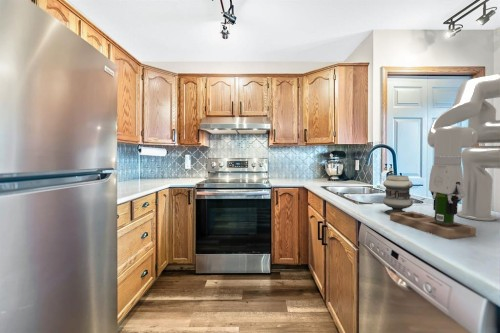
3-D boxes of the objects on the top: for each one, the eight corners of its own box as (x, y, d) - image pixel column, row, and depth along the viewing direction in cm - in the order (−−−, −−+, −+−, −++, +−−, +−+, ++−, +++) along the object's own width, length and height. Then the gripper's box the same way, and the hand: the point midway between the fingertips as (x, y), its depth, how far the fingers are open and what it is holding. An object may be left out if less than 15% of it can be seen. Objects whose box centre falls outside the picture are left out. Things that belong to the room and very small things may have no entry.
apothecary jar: (378, 210, 121) (379, 174, 120) (404, 211, 119) (405, 174, 118) (388, 216, 109) (390, 176, 108) (417, 217, 107) (419, 177, 106)
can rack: (389, 220, 103) (390, 213, 103) (412, 218, 106) (412, 211, 106) (448, 239, 80) (449, 230, 79) (475, 236, 82) (476, 227, 82)
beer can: (450, 225, 83) (452, 191, 82) (431, 222, 87) (433, 189, 87) (455, 223, 86) (457, 190, 85) (437, 220, 90) (439, 188, 90)
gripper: (419, 161, 94) (417, 207, 95) (456, 162, 77) (454, 218, 78) (439, 161, 94) (437, 207, 95) (480, 162, 77) (477, 218, 78)
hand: (444, 211), depth 86 cm, fingers closed on beer can, 5 cm apart
